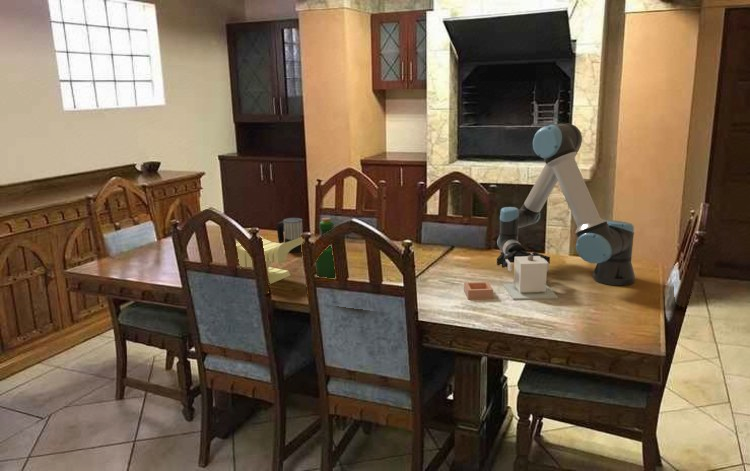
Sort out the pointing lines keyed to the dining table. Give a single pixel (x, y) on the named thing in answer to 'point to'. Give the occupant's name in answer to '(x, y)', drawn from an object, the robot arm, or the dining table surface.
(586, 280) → the dining table surface
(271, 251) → the slatted curved stool
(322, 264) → the bottle
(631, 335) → the dining table surface
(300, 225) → the milk frother
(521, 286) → the cover
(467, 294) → the dish
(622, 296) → the dining table surface
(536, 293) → the mat
